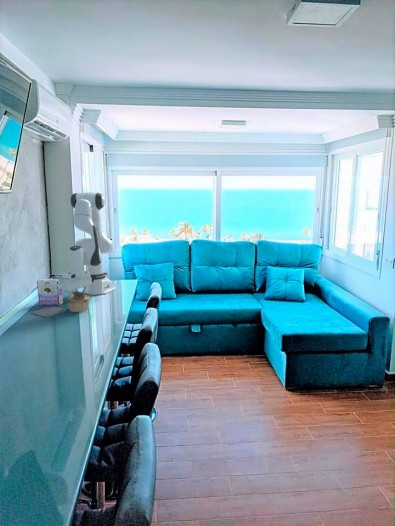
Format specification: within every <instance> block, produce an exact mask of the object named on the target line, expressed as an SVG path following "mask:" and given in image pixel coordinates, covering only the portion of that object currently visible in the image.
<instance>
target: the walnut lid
mask: <svg viewBox="0 0 395 526" xmlns="http://www.w3.org/2000/svg"><path fill="white" fill-rule="evenodd" d="M72 294H74V297H70V296H68V297H67V298H66V303H68V304H69V303H82V302H87V301H88V302H90V300H91V296H90V295H89V294H84V293H83V292H82V291H78V290H74V291H73V292H72Z"/></svg>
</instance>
